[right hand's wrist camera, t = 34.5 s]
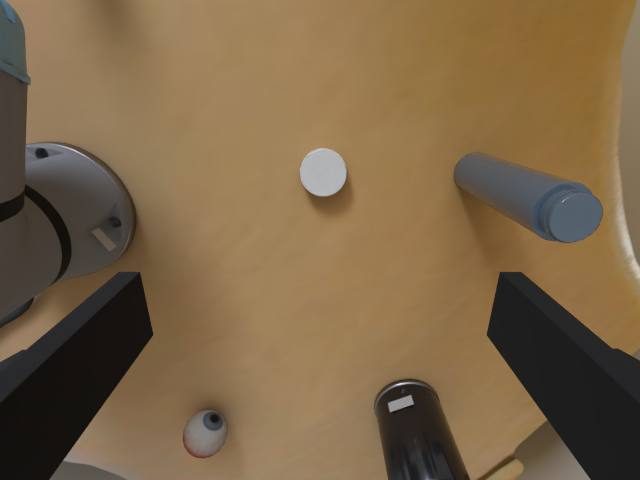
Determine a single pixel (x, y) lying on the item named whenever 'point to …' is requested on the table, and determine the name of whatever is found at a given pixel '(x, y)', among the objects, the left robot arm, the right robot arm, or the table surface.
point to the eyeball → (205, 433)
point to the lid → (323, 172)
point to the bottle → (531, 197)
